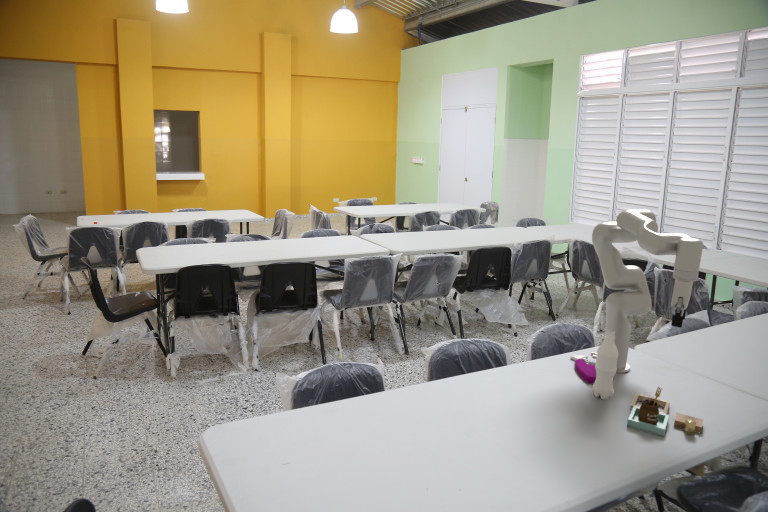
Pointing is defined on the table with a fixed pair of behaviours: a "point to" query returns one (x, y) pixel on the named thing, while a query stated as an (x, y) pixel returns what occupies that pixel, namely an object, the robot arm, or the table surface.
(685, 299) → the robot arm
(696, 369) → the table surface
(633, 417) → the tray
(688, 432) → the cylinder
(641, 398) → the wooden square frame
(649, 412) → the utensil holder
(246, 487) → the table surface
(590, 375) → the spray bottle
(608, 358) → the water bottle
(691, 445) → the table surface
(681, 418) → the board
